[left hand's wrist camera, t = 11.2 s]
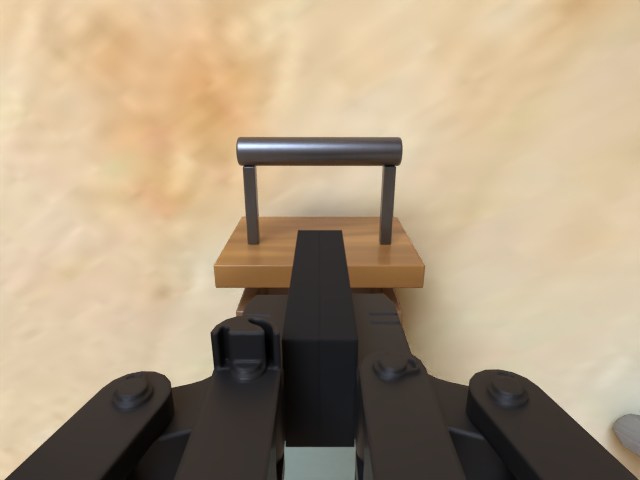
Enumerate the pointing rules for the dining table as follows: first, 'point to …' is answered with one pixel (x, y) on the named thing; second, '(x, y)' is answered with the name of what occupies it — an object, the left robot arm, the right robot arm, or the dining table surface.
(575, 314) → the dining table surface
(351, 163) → the drawer
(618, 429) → the digital clock
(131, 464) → the left robot arm
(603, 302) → the dining table surface
